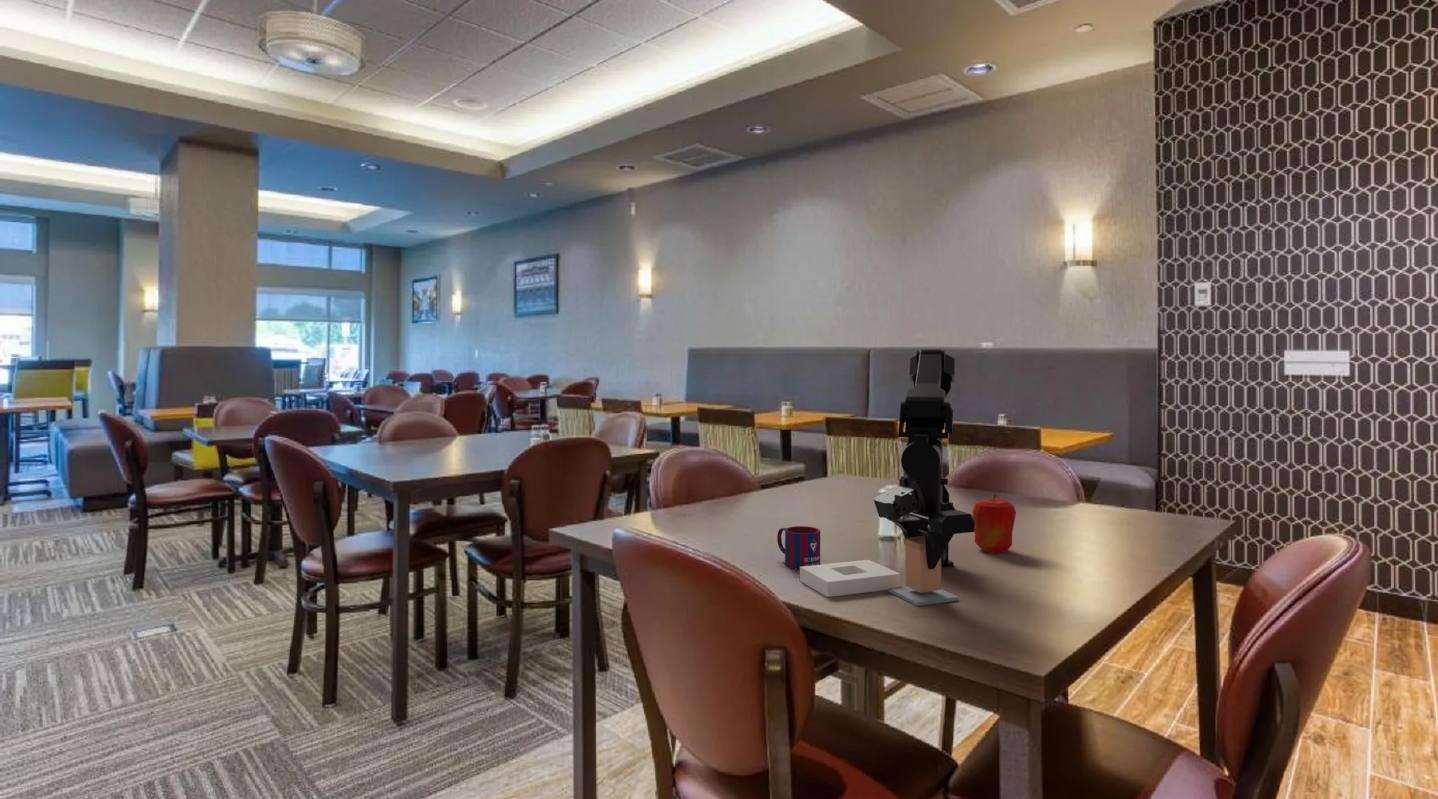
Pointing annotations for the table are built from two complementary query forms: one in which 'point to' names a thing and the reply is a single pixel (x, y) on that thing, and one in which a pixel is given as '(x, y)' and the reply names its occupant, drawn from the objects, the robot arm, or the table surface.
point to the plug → (920, 567)
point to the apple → (994, 524)
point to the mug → (800, 546)
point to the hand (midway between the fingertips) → (923, 565)
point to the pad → (923, 596)
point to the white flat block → (849, 577)
